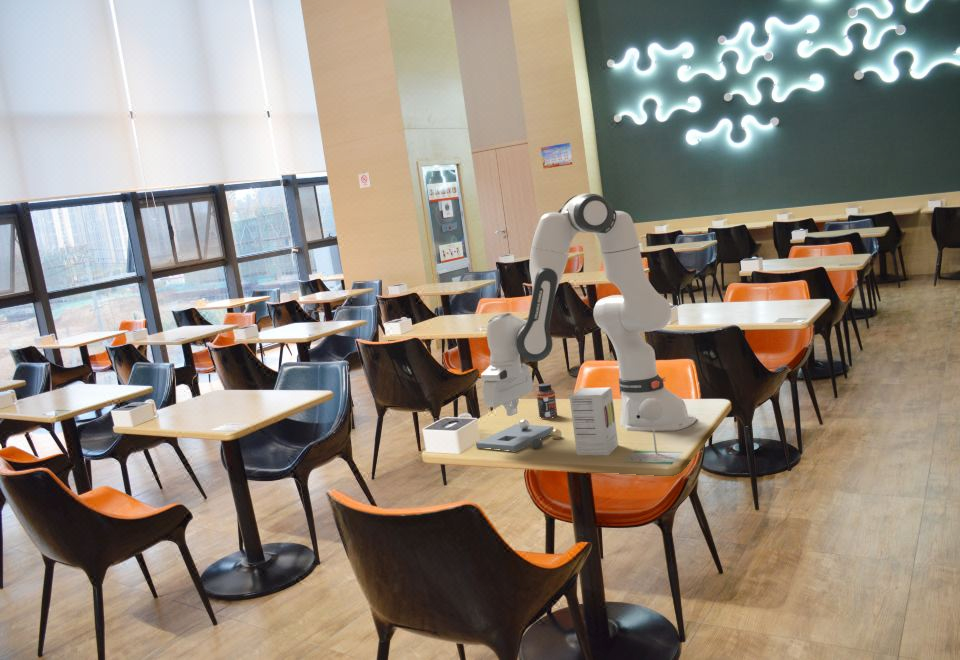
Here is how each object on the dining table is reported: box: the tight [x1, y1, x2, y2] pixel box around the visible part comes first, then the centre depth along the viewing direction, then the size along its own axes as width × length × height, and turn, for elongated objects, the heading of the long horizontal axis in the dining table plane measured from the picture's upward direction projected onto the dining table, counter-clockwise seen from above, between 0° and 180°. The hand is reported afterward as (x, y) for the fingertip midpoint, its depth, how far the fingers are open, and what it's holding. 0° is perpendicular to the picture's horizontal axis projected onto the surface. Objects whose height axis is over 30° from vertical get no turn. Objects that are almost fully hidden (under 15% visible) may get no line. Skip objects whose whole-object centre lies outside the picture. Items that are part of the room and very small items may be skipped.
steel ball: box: [518, 419, 530, 430], centre depth 240 cm, size 3×3×3 cm
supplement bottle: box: [536, 382, 558, 419], centre depth 260 cm, size 6×6×11 cm
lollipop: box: [639, 398, 663, 455], centre depth 207 cm, size 6×6×15 cm
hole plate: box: [475, 423, 554, 452], centre depth 237 cm, size 20×14×2 cm
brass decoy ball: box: [550, 428, 563, 440], centre depth 234 cm, size 3×3×3 cm
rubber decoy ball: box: [531, 439, 544, 450], centre depth 227 cm, size 3×3×3 cm
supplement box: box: [569, 386, 619, 456], centre depth 217 cm, size 10×9×17 cm
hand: (512, 414), depth 236 cm, fingers closed
